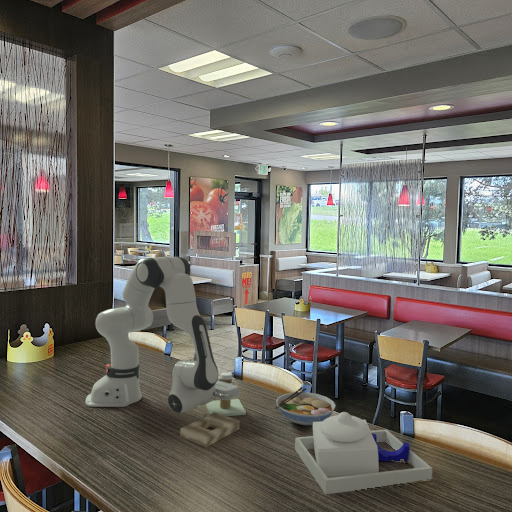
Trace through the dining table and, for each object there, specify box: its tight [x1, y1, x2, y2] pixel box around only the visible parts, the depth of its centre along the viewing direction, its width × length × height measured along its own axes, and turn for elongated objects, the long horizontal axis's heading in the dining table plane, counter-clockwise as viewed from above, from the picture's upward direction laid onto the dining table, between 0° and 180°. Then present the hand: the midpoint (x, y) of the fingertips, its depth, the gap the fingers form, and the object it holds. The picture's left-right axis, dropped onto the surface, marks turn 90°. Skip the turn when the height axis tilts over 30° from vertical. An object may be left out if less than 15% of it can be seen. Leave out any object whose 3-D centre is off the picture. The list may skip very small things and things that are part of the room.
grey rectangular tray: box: [294, 429, 433, 495], centre depth 142 cm, size 34×26×4 cm
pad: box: [205, 398, 247, 417], centre depth 182 cm, size 14×14×1 cm
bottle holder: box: [179, 412, 240, 448], centre depth 160 cm, size 18×12×3 cm, turn 144°
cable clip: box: [372, 433, 411, 463], centre depth 145 cm, size 12×4×6 cm, turn 79°
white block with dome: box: [312, 411, 380, 478], centre depth 141 cm, size 18×18×16 cm
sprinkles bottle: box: [219, 371, 233, 408], centre depth 181 cm, size 5×5×13 cm
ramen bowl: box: [274, 386, 336, 426], centre depth 172 cm, size 25×23×8 cm
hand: (227, 382), depth 182 cm, fingers open, 4 cm apart
